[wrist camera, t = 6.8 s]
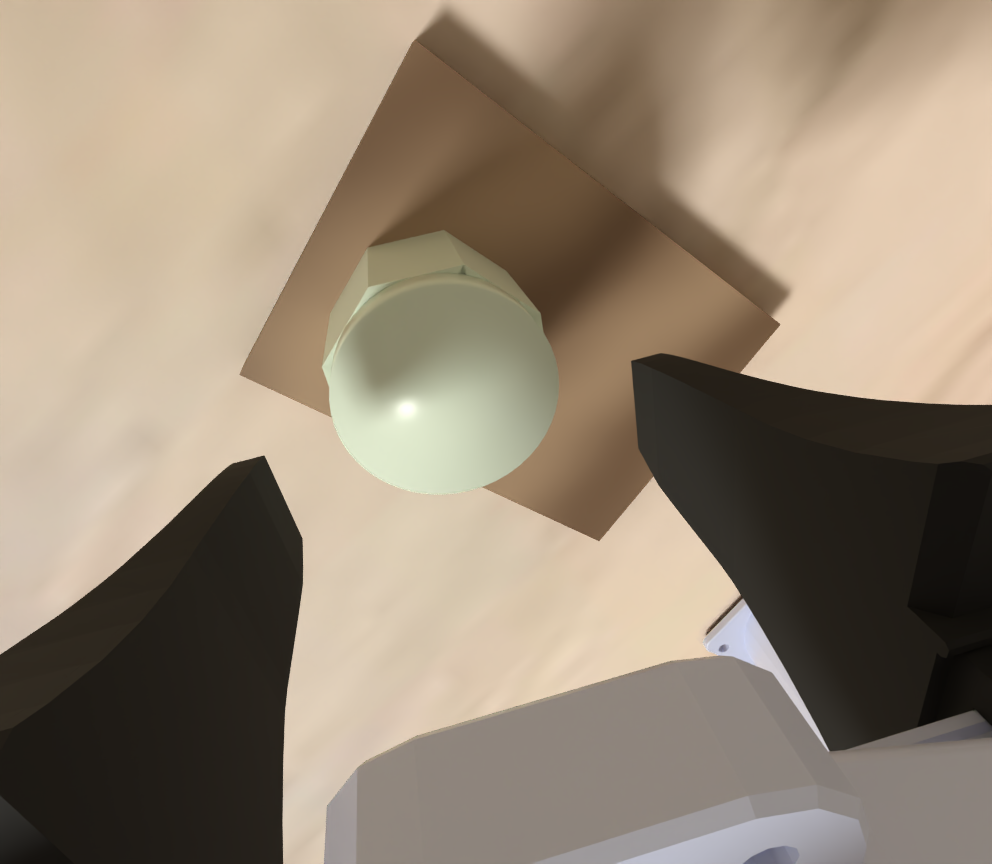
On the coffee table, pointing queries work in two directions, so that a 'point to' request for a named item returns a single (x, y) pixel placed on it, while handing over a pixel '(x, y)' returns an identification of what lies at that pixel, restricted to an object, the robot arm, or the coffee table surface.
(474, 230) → the post base
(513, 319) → the cap
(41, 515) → the coffee table surface
